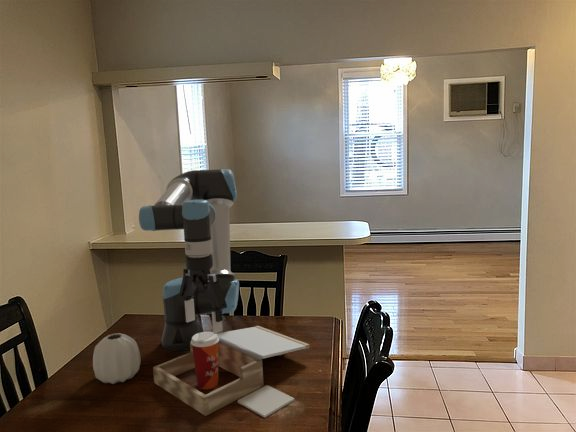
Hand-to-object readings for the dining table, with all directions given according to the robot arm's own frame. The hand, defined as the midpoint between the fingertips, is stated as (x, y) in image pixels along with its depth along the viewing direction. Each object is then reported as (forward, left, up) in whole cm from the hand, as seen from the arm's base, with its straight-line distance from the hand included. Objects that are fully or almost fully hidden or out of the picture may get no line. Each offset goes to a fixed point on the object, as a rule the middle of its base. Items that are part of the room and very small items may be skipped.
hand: (203, 326), depth 135 cm
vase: (-25, -16, -18) cm, 35 cm away
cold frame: (0, 0, -18) cm, 18 cm away
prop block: (0, +28, -18) cm, 33 cm away
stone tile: (+20, +5, -18) cm, 27 cm away
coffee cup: (0, 0, -18) cm, 18 cm away
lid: (0, +20, -14) cm, 25 cm away
